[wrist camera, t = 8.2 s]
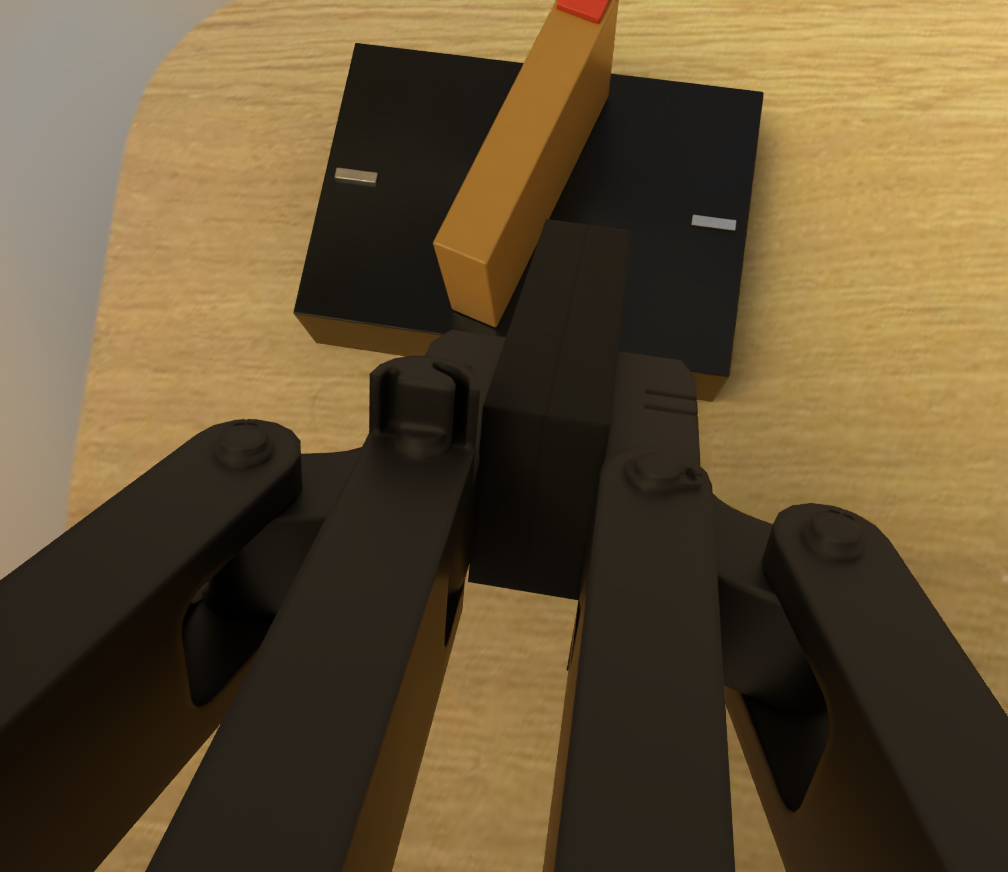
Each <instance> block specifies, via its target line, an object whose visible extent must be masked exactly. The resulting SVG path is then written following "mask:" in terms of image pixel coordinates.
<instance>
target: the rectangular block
mask: <svg viewBox="0 0 1008 872" xmlns="http://www.w3.org/2000/svg"><path fill="white" fill-rule="evenodd" d="M618 2H619V0H556V1H555V3H554V5H553V7H552V9H551V11H550V13H549V15H548V17H547V19H546V21H545V23H544V25H543V27H542V29H541V31H540V33H539V35H538V37H537V38H536V40H535V42H534V44H533V46H532V48H531V50H530V52H529V54H528V56H527V58H526V60H525V62H524V64H523V66H522V68H521V70H520V72H519V74H518V76H517V78H516V80H515V82H514V84H513V86H512V88H511V90H510V92H509V94H508V96H507V98H506V100H505V102H504V104H503V106H502V108H501V110H500V111H499V113H498V115H497V117H496V119H495V121H494V123H493V125H492V127H491V129H490V131H489V133H488V135H487V137H486V139H485V141H484V143H483V145H482V147H481V149H480V151H479V153H478V155H477V157H476V159H475V161H474V163H473V165H472V167H471V169H470V171H469V173H468V175H467V177H466V179H465V181H464V182H463V184H462V186H461V188H460V190H459V192H458V194H457V196H456V198H455V200H454V202H453V204H452V206H451V208H450V210H449V212H448V214H447V216H446V218H445V220H444V222H443V224H442V226H441V228H440V230H439V232H438V234H437V236H436V238H435V240H434V242H433V245H434V248H435V252H436V255H437V259H438V262H439V266H440V269H441V273H442V276H443V280H444V283H445V286H446V290H447V293H448V297H449V300H450V304H451V307H452V309H453V310H455V311H457V312H460V313H462V314H464V315H467V316H469V317H471V318H474V319H476V320H479V321H481V322H483V323H486V324H488V325H490V326H493V327H497V326H498V324H499V322H500V320H501V317H502V315H503V313H504V311H505V309H506V307H507V305H508V303H509V301H510V299H511V297H512V295H513V293H514V291H515V288H516V286H517V284H518V282H519V280H520V278H521V276H522V274H523V272H524V270H525V268H526V266H527V264H528V262H529V259H530V257H531V255H532V253H533V251H534V249H535V247H536V245H537V243H538V241H539V238H540V235H541V232H542V229H543V226H544V223H545V220H546V219H549V218H550V216H551V214H552V212H553V210H554V208H555V206H556V204H557V201H558V199H559V197H560V195H561V193H562V191H563V189H564V187H565V185H566V183H567V181H568V179H569V177H570V175H571V172H572V170H573V168H574V166H575V164H576V162H577V160H578V158H579V156H580V154H581V152H582V150H583V148H584V146H585V143H586V141H587V139H588V137H589V135H590V133H591V131H592V129H593V127H594V125H595V123H596V121H597V119H598V117H599V114H600V112H601V110H602V108H603V106H604V104H605V102H606V100H607V98H608V96H609V87H610V78H611V68H612V59H613V49H614V40H615V30H616V21H617V11H618Z"/></svg>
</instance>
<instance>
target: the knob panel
mask: <svg viewBox="0 0 1008 872" xmlns="http://www.w3.org/2000/svg"><path fill="white" fill-rule="evenodd" d="M523 64H524V63H518V62H510V61H502V60H493V59H485V58H477V57H468V56H460V55H452V54H443V53H435V52H427V51H418V50H410V49H402V48H394V47H385V46H377V45H369V44H360V43H355V47H354V51H353V56H352V60H351V64H350V69H349V73H348V77H347V82H346V86H345V90H344V95H343V99H342V103H341V108H340V112H339V116H338V121H337V125H336V129H335V134H334V138H333V143H332V147H331V151H330V156H329V160H328V164H327V169H326V173H325V177H324V182H323V186H322V190H321V195H320V199H319V203H318V208H317V212H316V217H315V221H314V225H313V230H312V234H311V238H310V243H309V247H308V251H307V256H306V260H305V264H304V269H303V273H302V277H301V282H300V286H299V291H298V295H297V299H296V304H295V308H294V314H295V316H296V317H297V318H298V320H299V321H300V322H301V324H302V325H303V326H304V328H305V329H306V330H307V332H308V333H309V334H310V335H311V337H312V338H313V339H314V341H315V342H316V343H321V344H328V345H335V346H341V347H348V348H355V349H362V350H368V351H375V352H382V353H389V354H395V355H402V356H415V355H417V356H425V354H426V352H427V350H428V348H429V346H430V344H431V342H433V341H435V340H436V339H438V338H439V337H441V336H442V335H444V334H446V333H447V332H449V331H450V330H458V331H465V332H472V333H479V334H486V335H493V336H500V337H506V336H507V333H508V330H509V327H510V324H511V321H512V318H513V315H514V312H515V309H516V306H517V303H518V300H519V297H520V294H521V291H522V288H523V286H524V283H525V280H526V277H527V274H528V271H529V268H530V265H531V262H532V259H533V256H534V253H535V250H536V247H537V245H536V247H535V249H534V251H533V253H532V255H531V257H530V259H529V262H528V264H527V266H526V268H525V270H524V272H523V274H522V276H521V278H520V280H519V282H518V284H517V286H516V288H515V291H514V293H513V295H512V297H511V299H510V301H509V303H508V305H507V307H506V309H505V311H504V313H503V315H502V317H501V320H500V322H499V324H498V326H497V327H493V326H490V325H488V324H486V323H483V322H481V321H479V320H476V319H474V318H471V317H469V316H467V315H464V314H462V313H460V312H457V311H455V310H453V309H452V307H451V304H450V300H449V297H448V293H447V290H446V286H445V283H444V280H443V276H442V273H441V269H440V266H439V262H438V259H437V255H436V252H435V248H434V245H433V242H434V240H435V238H436V236H437V234H438V232H439V230H440V228H441V226H442V224H443V222H444V220H445V218H446V216H447V214H448V212H449V210H450V208H451V206H452V204H453V202H454V200H455V198H456V196H457V194H458V192H459V190H460V188H461V186H462V184H463V182H464V181H465V179H466V177H467V175H468V173H469V171H470V169H471V167H472V165H473V163H474V161H475V159H476V157H477V155H478V153H479V151H480V149H481V147H482V145H483V143H484V141H485V139H486V137H487V135H488V133H489V131H490V129H491V127H492V125H493V123H494V121H495V119H496V117H497V115H498V113H499V111H500V110H501V108H502V106H503V104H504V102H505V100H506V98H507V96H508V94H509V92H510V90H511V88H512V86H513V84H514V82H515V80H516V78H517V76H518V74H519V72H520V70H521V68H522V66H523ZM763 95H764V93H763V92H759V91H751V90H743V89H734V88H726V87H718V86H709V85H701V84H693V83H685V82H676V81H668V80H660V79H651V78H643V77H635V76H626V75H618V74H611V78H610V87H609V96H608V98H607V100H606V102H605V104H604V106H603V108H602V110H601V112H600V114H599V117H598V119H597V121H596V123H595V125H594V127H593V129H592V131H591V133H590V135H589V137H588V139H587V141H586V143H585V146H584V148H583V150H582V152H581V154H580V156H579V158H578V160H577V162H576V164H575V166H574V168H573V170H572V172H571V175H570V177H569V179H568V181H567V183H566V185H565V187H564V189H563V191H562V193H561V195H560V197H559V199H558V201H557V204H556V206H555V208H554V210H553V212H552V214H551V216H550V218H549V220H557V221H564V222H572V223H579V224H587V225H594V226H602V227H609V228H617V229H624V230H631V234H630V244H629V253H628V263H627V272H626V282H625V292H624V301H623V311H622V321H621V330H620V340H619V349H618V351H620V352H627V353H634V354H641V355H648V356H655V357H662V358H669V359H676V360H682V362H683V363H684V364H685V365H686V367H687V368H688V369H689V370H690V372H691V373H692V374H693V376H694V377H695V378H696V388H697V399H698V400H705V401H713V400H714V399H715V397H716V396H717V394H718V393H719V391H720V390H721V388H722V387H723V385H724V384H725V382H726V380H727V379H728V377H729V375H730V367H731V359H732V350H733V342H734V334H735V326H736V317H737V309H738V301H739V293H740V285H741V276H742V268H743V260H744V252H745V243H746V235H747V227H748V219H749V210H750V202H751V194H752V186H753V178H754V169H755V161H756V153H757V145H758V136H759V128H760V120H761V112H762V104H763ZM537 244H538V243H537Z"/></svg>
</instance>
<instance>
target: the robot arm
mask: <svg viewBox="0 0 1008 872" xmlns="http://www.w3.org/2000/svg"><path fill="white" fill-rule="evenodd" d="M630 234H631V230H624V229H617V228H609V227H602V226H594V225H587V224H579V223H572V222H564V221H557V220H549V219H546V220H545V223H544V226H543V229H542V232H541V235H540V238H539V241H538V244H537V247H536V250H535V253H534V256H533V259H532V262H531V265H530V268H529V271H528V274H527V277H526V280H525V283H524V286H523V288H522V291H521V294H520V297H519V300H518V303H517V306H516V309H515V312H514V315H513V318H512V321H511V324H510V327H509V330H508V333H507V336H506V337H500V336H493V335H486V334H479V333H472V332H465V331H458V330H450V331H449V332H447V333H446V334H444V335H442V336H441V337H439V338H438V339H436V340H435V341H433V342H431V344H430V346H429V348H428V350H427V352H426V354H425V356H417V355H415V356H408V357H401V358H395V359H392V360H390V361H387V362H385V363H382V364H380V365H379V366H378V367H377V368H376V369H374V370H373V371H372V372H371V373H370V406H369V435H368V436H367V438H366V440H365V442H364V444H363V446H362V447H360V448H356V449H353V450H349V451H342V452H332V453H311V454H301V446H300V440H299V439H298V438H297V436H296V435H295V434H294V433H293V431H292V430H290V429H288V428H286V427H284V426H281V425H279V424H277V423H274V422H268V421H263V420H257V419H248V420H245V419H241V420H233V421H229V422H225V423H221V424H217V425H213V426H211V427H209V428H208V429H206V430H204V431H202V432H200V433H198V434H196V435H195V436H194V437H192V438H191V439H190V440H188V441H187V442H186V443H184V444H183V445H182V446H180V447H179V448H178V449H176V450H175V451H174V452H172V453H171V454H170V455H168V456H167V457H166V458H164V459H163V460H161V461H160V462H159V463H157V464H156V465H155V466H153V467H152V468H151V469H149V470H148V471H147V472H145V473H144V474H143V475H141V476H140V477H139V478H137V479H136V480H135V481H133V482H132V483H131V484H129V485H128V486H127V487H125V488H124V489H122V490H121V491H120V492H118V493H117V494H116V495H114V496H113V497H112V498H110V499H109V500H108V501H106V502H105V503H104V504H102V505H101V506H100V507H98V508H97V509H96V510H94V511H93V512H92V513H90V514H89V515H88V516H86V517H85V518H83V519H82V520H81V521H79V522H78V523H77V524H75V525H74V526H73V527H71V528H70V529H69V530H67V531H66V532H65V533H63V534H62V535H61V536H59V537H58V538H57V539H55V540H54V541H53V542H51V543H50V544H49V545H47V546H46V547H45V548H43V549H42V550H40V551H39V552H38V553H37V554H35V555H34V556H32V557H31V558H30V559H28V560H27V561H26V562H24V563H23V564H22V565H20V566H19V567H18V568H16V569H15V570H14V571H12V572H11V573H10V574H8V575H7V576H6V577H4V578H3V579H1V580H0V872H94V871H95V870H96V869H97V867H98V866H99V865H100V864H101V863H102V862H103V860H104V859H105V858H106V857H107V856H108V855H109V853H110V852H111V851H112V850H113V849H114V848H115V846H116V845H117V844H118V843H119V842H120V841H121V839H122V838H123V837H124V836H125V835H126V834H127V832H128V831H129V830H130V829H131V828H132V827H133V825H134V824H135V823H136V822H137V821H138V820H139V818H140V817H141V816H142V815H143V814H144V813H145V811H146V810H147V809H148V808H149V807H150V806H151V804H152V803H153V802H154V801H155V800H156V799H157V797H158V796H159V795H160V794H161V793H162V792H163V790H164V789H165V788H166V787H167V786H168V785H169V783H170V782H171V781H172V780H173V779H174V778H175V776H176V775H177V774H178V773H179V772H180V771H181V769H182V768H183V767H184V766H185V765H186V764H187V762H188V761H189V760H190V759H191V758H192V757H193V755H194V754H195V753H196V752H197V751H198V750H199V748H200V747H201V746H202V745H203V744H204V743H205V741H206V740H207V739H208V738H209V737H210V736H211V734H212V733H213V732H214V731H215V730H216V729H217V727H218V726H219V725H220V726H219V728H218V730H217V732H216V734H215V736H214V738H213V740H212V742H211V744H210V746H209V748H208V750H207V752H206V754H205V756H204V758H203V760H202V762H201V763H200V765H199V767H198V769H197V771H196V773H195V775H194V777H193V779H192V781H191V783H190V785H189V787H188V789H187V791H186V793H185V795H184V797H183V799H182V801H181V803H180V805H179V807H178V809H177V810H176V812H175V814H174V816H173V818H172V820H171V822H170V824H169V826H168V828H167V830H166V832H165V834H164V836H163V838H162V840H161V842H160V844H159V846H158V848H157V850H156V852H155V854H154V856H153V857H152V859H151V861H150V863H149V865H148V867H147V869H146V871H145V872H392V869H393V865H394V861H395V857H396V854H397V850H398V846H399V843H400V839H401V835H402V831H403V828H404V824H405V820H406V817H407V813H408V809H409V805H410V802H411V798H412V794H413V791H414V787H415V783H416V780H417V776H418V772H419V768H420V765H421V761H422V757H423V754H424V750H425V746H426V742H427V739H428V735H429V731H430V728H431V724H432V720H433V716H434V713H435V709H436V705H437V702H438V698H439V694H440V691H441V687H442V683H443V679H444V676H445V672H446V668H447V665H448V661H449V657H450V653H451V650H452V646H453V642H454V639H455V635H456V631H457V627H458V624H459V620H460V616H461V613H462V608H463V596H464V583H465V577H466V574H467V570H468V567H469V577H468V582H472V583H478V584H484V585H490V586H496V587H502V588H508V589H514V590H520V591H526V592H532V593H538V594H544V595H550V596H556V597H562V598H568V599H574V600H579V601H578V607H577V613H576V619H575V624H574V630H573V636H572V642H571V648H570V653H569V659H568V665H567V670H568V678H567V686H566V694H565V701H564V709H563V717H562V725H561V733H560V740H559V748H558V756H557V764H556V772H555V779H554V787H553V795H552V803H551V811H550V818H549V826H548V834H547V842H546V850H545V857H544V865H543V872H735V859H734V842H733V826H732V809H731V793H730V776H729V760H728V743H727V726H726V710H725V703H726V706H727V709H728V712H729V714H730V717H731V720H732V723H733V725H734V728H735V731H736V734H737V736H738V739H739V742H740V745H741V748H742V750H743V753H744V756H745V759H746V761H747V764H748V767H749V770H750V772H751V775H752V778H753V781H754V784H755V786H756V789H757V792H758V795H759V797H760V800H761V803H762V806H763V808H764V811H765V814H766V817H767V820H768V822H769V825H770V828H771V831H772V833H773V836H774V839H775V842H776V844H777V847H778V850H779V853H780V856H781V858H782V861H783V864H784V867H785V869H786V872H1008V716H1007V715H1006V713H1005V712H1004V710H1003V709H1002V707H1001V706H1000V704H999V703H998V701H997V700H996V698H995V697H994V695H993V694H992V692H991V691H990V689H989V688H988V686H987V685H986V683H985V682H984V680H983V679H982V677H981V676H980V674H979V673H978V671H977V670H976V668H975V667H974V665H973V664H972V662H971V661H970V659H969V658H968V657H967V655H966V654H965V652H964V651H963V649H962V648H961V646H960V645H959V643H958V642H957V640H956V639H955V637H954V636H953V634H952V633H951V631H950V630H949V628H948V627H947V625H946V624H945V622H944V621H943V619H942V618H941V616H940V615H939V613H938V612H937V610H936V609H935V607H934V606H933V604H932V603H931V601H930V600H929V598H928V597H927V595H926V594H925V593H924V591H923V590H922V588H921V587H920V585H919V584H918V582H917V581H916V579H915V578H914V576H913V575H912V573H911V572H910V570H909V569H908V567H907V566H906V564H905V563H904V561H903V560H902V558H901V557H900V555H899V554H898V552H897V551H896V549H895V548H894V546H893V545H892V543H891V542H890V540H889V539H888V538H887V537H886V536H885V535H884V534H883V533H882V532H881V531H880V530H879V529H878V528H877V527H876V526H875V525H874V524H872V523H870V522H869V521H867V520H865V519H864V518H862V517H860V516H859V515H857V514H855V513H853V512H850V511H848V510H844V509H842V508H839V507H835V506H830V505H822V504H815V503H808V504H800V505H792V506H790V507H788V508H787V509H785V510H783V511H781V512H779V513H778V515H777V517H776V519H775V521H774V523H773V524H771V523H768V522H765V521H762V520H760V519H757V518H754V517H751V516H749V515H747V514H744V513H742V512H740V511H738V510H735V509H733V508H732V507H730V506H728V505H727V504H725V503H724V502H722V501H721V500H719V499H718V498H717V497H716V496H715V495H714V494H713V493H712V484H711V482H710V479H709V476H708V474H707V472H706V471H705V470H704V469H703V468H702V467H701V466H700V449H699V429H698V416H697V414H698V408H697V401H696V400H697V388H696V378H695V377H694V376H693V374H692V373H691V372H690V370H689V369H688V368H687V367H686V365H685V364H684V363H683V362H682V360H676V359H669V358H662V357H655V356H648V355H641V354H634V353H627V352H620V351H618V349H619V340H620V330H621V321H622V311H623V301H624V292H625V282H626V272H627V263H628V253H629V244H630ZM469 563H470V565H469Z"/></svg>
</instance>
